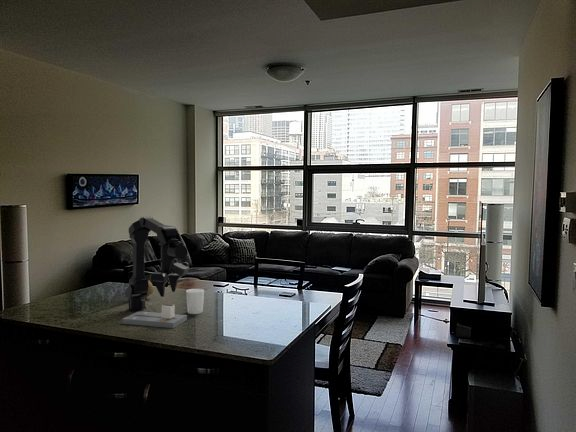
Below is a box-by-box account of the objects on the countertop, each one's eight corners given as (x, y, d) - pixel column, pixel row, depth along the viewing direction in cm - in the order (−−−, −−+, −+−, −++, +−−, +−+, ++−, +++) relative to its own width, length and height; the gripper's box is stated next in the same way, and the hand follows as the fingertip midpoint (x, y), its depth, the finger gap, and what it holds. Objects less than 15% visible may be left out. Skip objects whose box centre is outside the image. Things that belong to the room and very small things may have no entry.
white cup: (199, 315, 192) (199, 292, 192) (183, 314, 194) (183, 291, 194) (206, 310, 200) (206, 289, 200) (190, 309, 202) (190, 288, 201)
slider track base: (122, 323, 179) (122, 318, 179) (138, 315, 190) (138, 310, 190) (173, 328, 173) (173, 322, 173) (187, 319, 185) (187, 314, 185)
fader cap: (161, 318, 179) (161, 305, 179) (165, 315, 183) (165, 303, 182) (170, 318, 178) (170, 305, 178) (174, 316, 182) (174, 303, 181)
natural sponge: (157, 297, 225) (157, 278, 224) (146, 301, 216) (146, 281, 216) (143, 295, 228) (143, 277, 227) (131, 299, 219) (131, 280, 219)
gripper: (174, 261, 169) (174, 300, 170) (195, 254, 187) (195, 290, 188) (149, 259, 171) (149, 298, 172) (172, 253, 190) (172, 289, 190)
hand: (168, 294), depth 181 cm, fingers open, 9 cm apart
